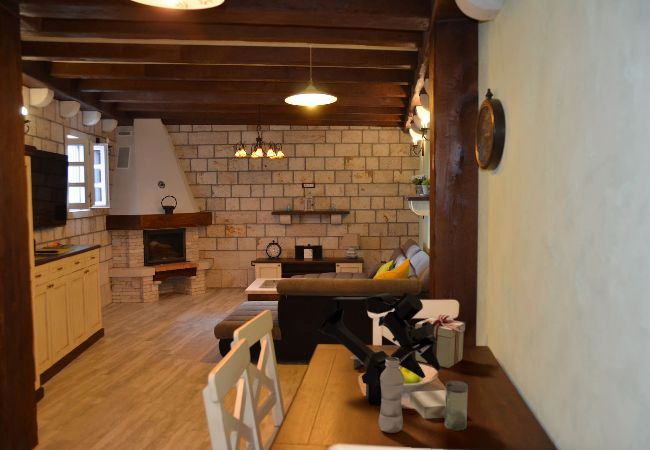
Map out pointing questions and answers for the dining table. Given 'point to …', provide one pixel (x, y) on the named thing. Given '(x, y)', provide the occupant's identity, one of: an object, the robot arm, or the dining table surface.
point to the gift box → (446, 340)
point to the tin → (456, 405)
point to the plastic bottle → (391, 397)
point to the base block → (429, 403)
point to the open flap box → (356, 361)
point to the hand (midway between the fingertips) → (432, 373)
